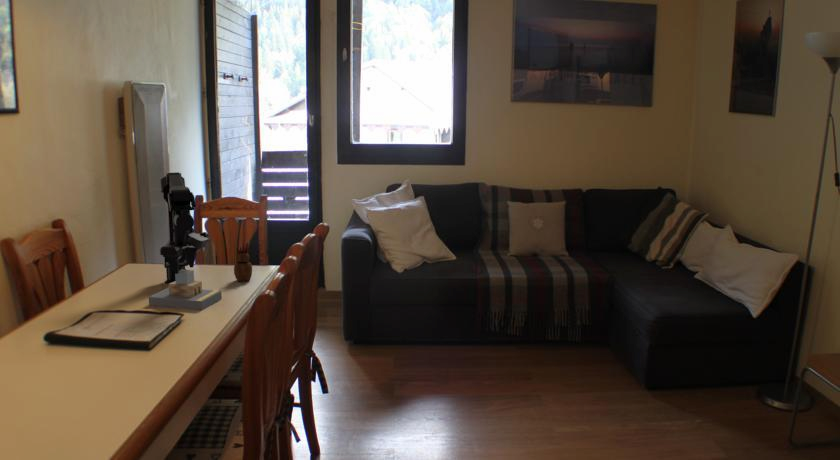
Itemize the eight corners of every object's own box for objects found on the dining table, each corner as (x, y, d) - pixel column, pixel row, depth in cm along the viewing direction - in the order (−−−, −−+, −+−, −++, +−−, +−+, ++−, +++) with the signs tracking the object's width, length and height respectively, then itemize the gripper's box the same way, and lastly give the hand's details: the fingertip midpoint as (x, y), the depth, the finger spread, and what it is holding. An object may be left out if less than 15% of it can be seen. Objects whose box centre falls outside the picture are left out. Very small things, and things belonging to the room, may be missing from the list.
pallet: (169, 295, 234) (168, 283, 234) (178, 290, 240) (178, 279, 239) (192, 297, 233) (192, 285, 232) (202, 292, 238) (201, 281, 238)
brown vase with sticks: (254, 279, 268) (253, 241, 265) (249, 282, 262) (248, 244, 259) (237, 278, 268) (236, 241, 266) (232, 282, 263) (230, 244, 260)
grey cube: (175, 283, 234) (175, 272, 233) (182, 280, 238) (182, 269, 237) (187, 284, 233) (186, 273, 232) (194, 281, 237) (193, 270, 236)
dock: (149, 305, 233) (148, 296, 232) (170, 294, 245) (170, 286, 245) (202, 310, 228) (201, 300, 228) (221, 299, 241) (221, 290, 240)
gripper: (188, 232, 221) (190, 278, 224) (217, 222, 239) (219, 265, 242) (157, 230, 223) (160, 276, 226) (188, 220, 241) (190, 263, 244)
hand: (184, 270), depth 235 cm, fingers open, 9 cm apart
